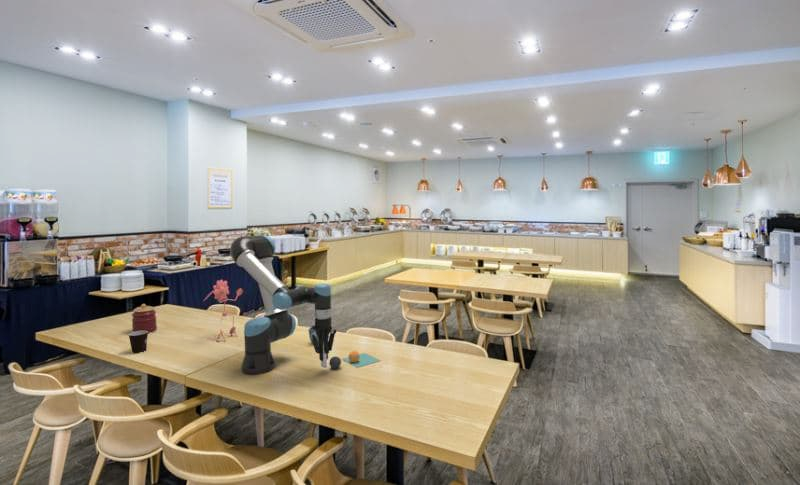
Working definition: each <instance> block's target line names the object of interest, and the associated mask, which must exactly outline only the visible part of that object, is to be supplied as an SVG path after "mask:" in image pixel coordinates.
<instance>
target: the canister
mask: <svg viewBox="0 0 800 485" xmlns="http://www.w3.org/2000/svg"><path fill="white" fill-rule="evenodd" d="M156 313H157V311H156V310H155V307H153V306H151V305H146V303H142V304H141V305H140V306H137V307H135V308H134V309H133V310H132V313H131V317H132V318H131V322H132V323H131V325H132V326H131V327H132V329H131V330H132V332H136V331H148V334H150V333H149V332H152V333H154V332H153V331H155V330H156V331H157V330H158V326H157V316H156ZM156 331H155V332H156ZM132 332H131V333H132Z"/></svg>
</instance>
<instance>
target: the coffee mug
mask: <svg viewBox="0 0 800 485" xmlns="http://www.w3.org/2000/svg"><path fill="white" fill-rule="evenodd" d="M148 334H149V333H148V331H136V332H129V333H128V337H129V338H128V339H129V343H130V347H131V353H132V352H133V353H132V354H141V353H140V352H142V353H145V352H146V351H147V346H148V336H149V335H148ZM144 351H145V352H144Z"/></svg>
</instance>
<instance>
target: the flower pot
mask: <svg viewBox="0 0 800 485" xmlns="http://www.w3.org/2000/svg"><path fill="white" fill-rule="evenodd" d="M314 330H315V324H314V325H312V326H311V327H309V328H308V336H309V340H310V342H311V343H312V344H313V341H312V338H311V336H310V334H312V333H314V332H315V331H314ZM316 338H317V342H318V345H319V339H318V335H317V334H316ZM323 343H324V340H323Z"/></svg>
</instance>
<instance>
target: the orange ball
mask: <svg viewBox="0 0 800 485" xmlns="http://www.w3.org/2000/svg"><path fill="white" fill-rule="evenodd" d="M359 354H360V353H359V352H358V351H357V350H352V351H350V352H349V353H348V356H347V358H349V360H350V361H351V362H353V363H354V362H357V361H358V360H359V358H360V356H359Z"/></svg>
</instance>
